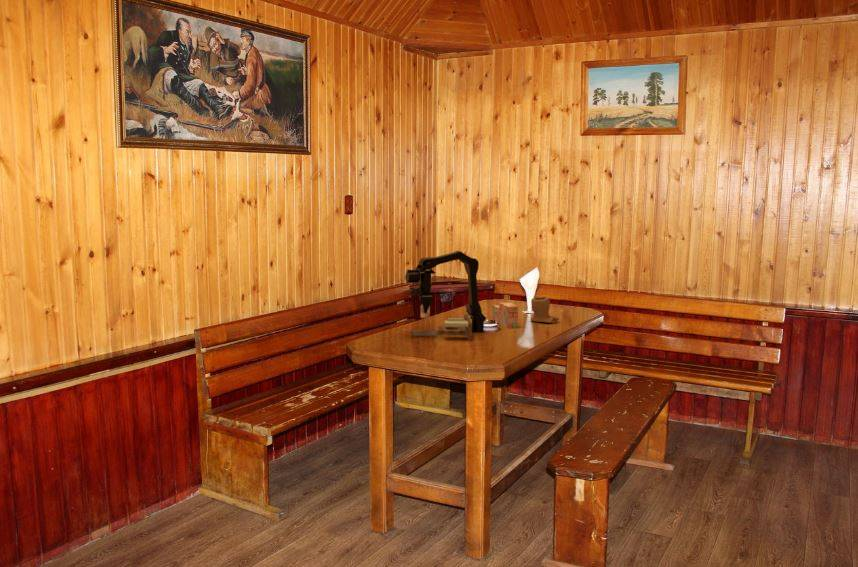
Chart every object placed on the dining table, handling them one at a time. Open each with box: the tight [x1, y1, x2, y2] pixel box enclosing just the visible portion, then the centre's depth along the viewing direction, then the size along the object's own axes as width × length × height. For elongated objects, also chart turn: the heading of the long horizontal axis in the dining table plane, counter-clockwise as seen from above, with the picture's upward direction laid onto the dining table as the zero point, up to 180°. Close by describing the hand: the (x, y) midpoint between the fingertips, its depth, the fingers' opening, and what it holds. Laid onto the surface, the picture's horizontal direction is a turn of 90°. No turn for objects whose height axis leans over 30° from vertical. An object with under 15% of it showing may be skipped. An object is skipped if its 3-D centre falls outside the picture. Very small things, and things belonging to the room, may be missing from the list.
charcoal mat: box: [412, 329, 438, 338], centre depth 382 cm, size 12×12×1 cm
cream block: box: [420, 304, 431, 319], centre depth 381 cm, size 4×4×6 cm
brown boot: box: [530, 295, 560, 324], centre depth 422 cm, size 15×12×15 cm
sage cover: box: [443, 317, 469, 326], centre depth 372 cm, size 12×8×3 cm, turn 93°
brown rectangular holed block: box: [437, 313, 473, 341], centre depth 381 cm, size 16×25×9 cm, turn 3°
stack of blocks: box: [491, 302, 519, 329], centre depth 414 cm, size 21×6×12 cm, turn 18°
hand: (425, 312), depth 381 cm, fingers closed on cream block, 4 cm apart
